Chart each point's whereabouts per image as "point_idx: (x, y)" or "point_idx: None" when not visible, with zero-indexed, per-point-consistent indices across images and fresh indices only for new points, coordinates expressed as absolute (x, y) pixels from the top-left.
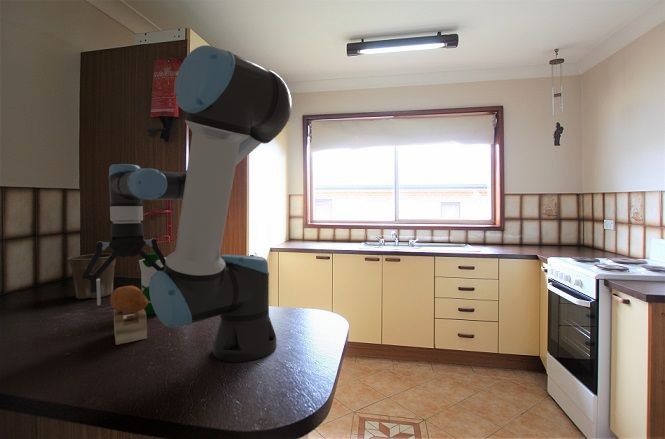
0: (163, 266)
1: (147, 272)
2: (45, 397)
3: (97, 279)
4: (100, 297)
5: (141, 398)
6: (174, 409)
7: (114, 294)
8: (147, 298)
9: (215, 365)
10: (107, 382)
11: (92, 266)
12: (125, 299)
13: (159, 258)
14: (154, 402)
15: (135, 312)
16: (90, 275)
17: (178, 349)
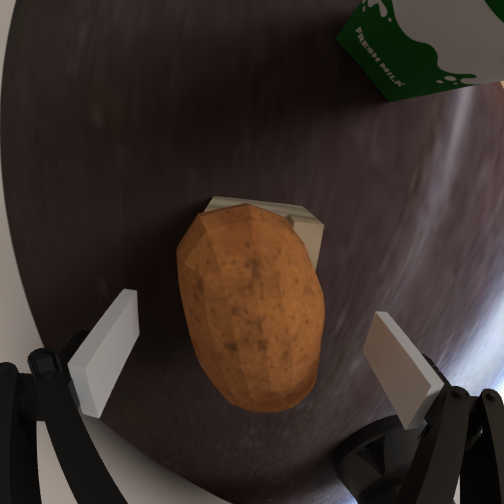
0: (478, 413)
1: (457, 7)
2: (114, 429)
3: (78, 386)
4: (128, 355)
5: (218, 482)
6: (241, 500)
7: (189, 319)
8: (378, 50)
9: (319, 467)
10: (183, 444)
11: (33, 473)
12: (228, 399)
13: (461, 491)
14: (228, 490)
15: (289, 220)
16: (41, 418)
17: (310, 411)
